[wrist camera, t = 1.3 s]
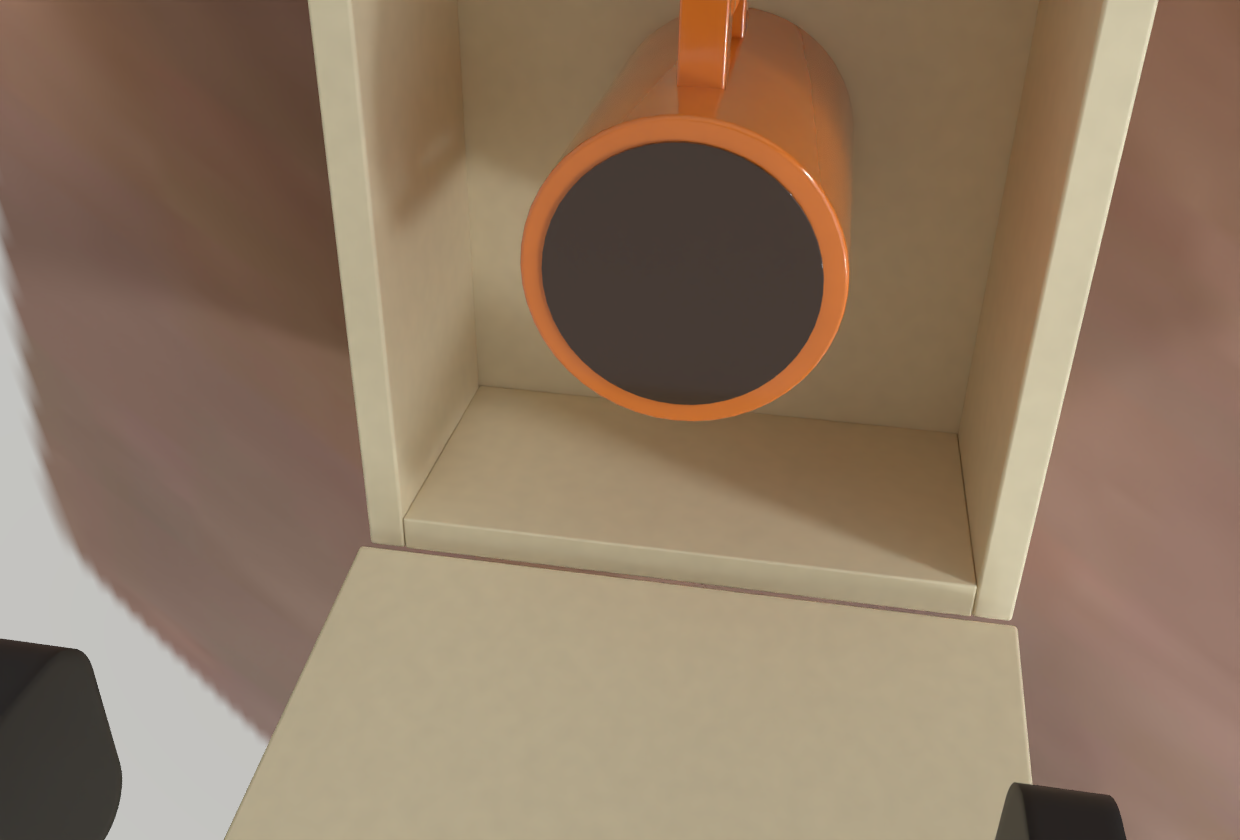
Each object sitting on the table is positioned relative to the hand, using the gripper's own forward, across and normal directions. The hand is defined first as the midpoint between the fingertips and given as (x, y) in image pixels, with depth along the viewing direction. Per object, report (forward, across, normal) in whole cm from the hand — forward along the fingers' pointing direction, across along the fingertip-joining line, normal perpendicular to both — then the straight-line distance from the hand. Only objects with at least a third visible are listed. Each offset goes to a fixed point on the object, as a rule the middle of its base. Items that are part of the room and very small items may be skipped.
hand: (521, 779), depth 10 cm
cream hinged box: (+19, 0, 0) cm, 19 cm away
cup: (+19, 0, 0) cm, 19 cm away
